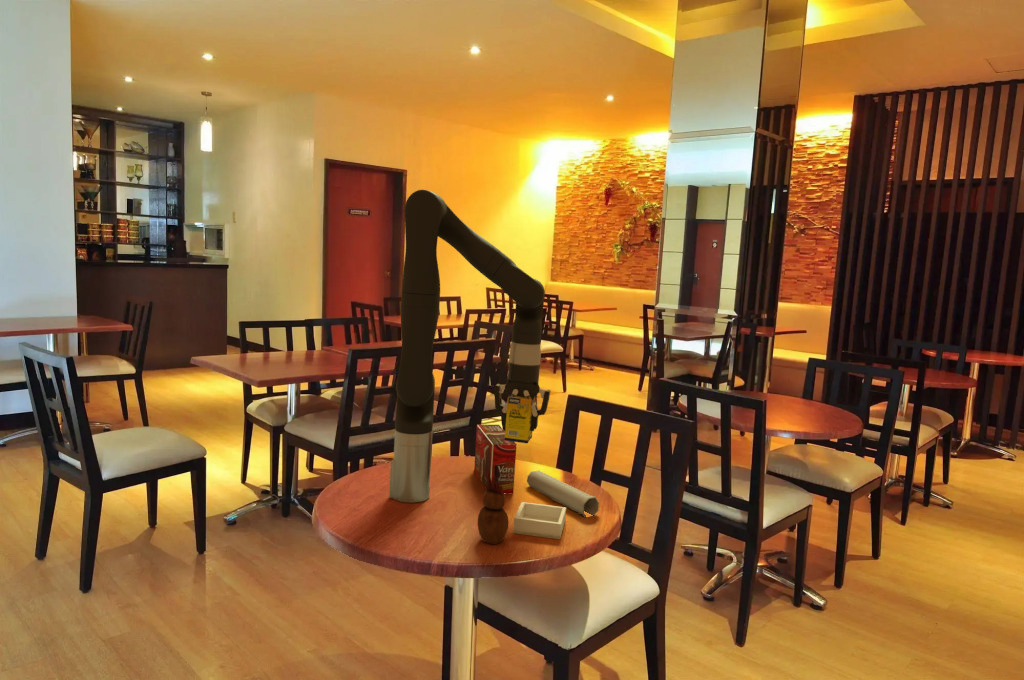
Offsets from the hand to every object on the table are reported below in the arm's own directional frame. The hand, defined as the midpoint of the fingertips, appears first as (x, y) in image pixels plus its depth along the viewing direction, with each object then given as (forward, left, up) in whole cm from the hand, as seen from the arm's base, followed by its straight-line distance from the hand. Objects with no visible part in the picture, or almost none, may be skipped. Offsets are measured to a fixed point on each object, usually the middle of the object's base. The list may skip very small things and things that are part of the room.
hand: (519, 428), depth 170 cm
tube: (+10, +8, -20) cm, 24 cm away
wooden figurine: (-1, -22, -20) cm, 30 cm away
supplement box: (0, 0, -3) cm, 3 cm away
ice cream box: (-9, +16, -20) cm, 27 cm away
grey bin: (+8, -11, -20) cm, 24 cm away
